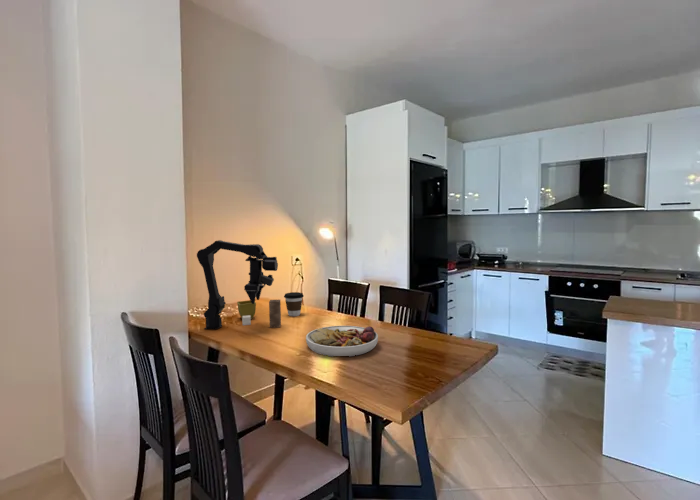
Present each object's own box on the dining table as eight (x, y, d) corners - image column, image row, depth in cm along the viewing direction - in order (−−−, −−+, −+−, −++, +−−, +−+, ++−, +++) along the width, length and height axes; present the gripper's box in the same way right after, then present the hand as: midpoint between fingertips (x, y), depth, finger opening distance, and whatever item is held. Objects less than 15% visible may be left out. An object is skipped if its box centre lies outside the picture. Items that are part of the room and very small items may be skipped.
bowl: (312, 363, 140) (312, 342, 139) (301, 339, 169) (301, 322, 168) (388, 355, 148) (388, 335, 147) (365, 333, 177) (365, 317, 176)
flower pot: (237, 317, 208) (236, 301, 207) (253, 315, 211) (253, 299, 211) (239, 321, 200) (239, 304, 199) (256, 319, 203) (256, 302, 203)
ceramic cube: (242, 325, 192) (242, 317, 191) (242, 323, 196) (242, 315, 195) (250, 324, 193) (250, 317, 192) (250, 322, 197) (250, 315, 196)
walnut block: (269, 327, 187) (269, 301, 186) (270, 324, 192) (270, 299, 191) (279, 327, 187) (279, 301, 186) (280, 324, 192) (280, 299, 191)
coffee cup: (283, 313, 216) (282, 292, 215) (302, 312, 219) (301, 291, 218) (285, 318, 205) (285, 296, 204) (305, 316, 209) (305, 295, 208)
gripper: (268, 273, 175) (267, 306, 176) (276, 268, 194) (275, 298, 195) (244, 272, 175) (244, 305, 176) (254, 267, 194) (254, 297, 195)
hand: (255, 301), depth 185 cm, fingers open, 9 cm apart
